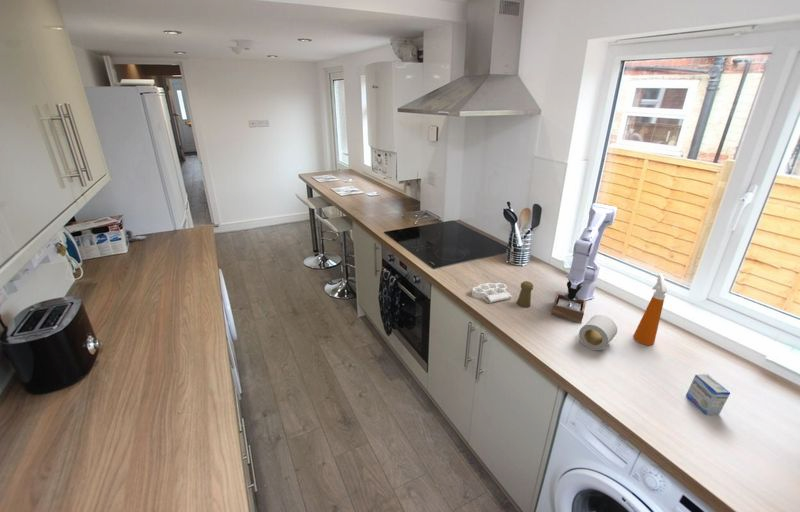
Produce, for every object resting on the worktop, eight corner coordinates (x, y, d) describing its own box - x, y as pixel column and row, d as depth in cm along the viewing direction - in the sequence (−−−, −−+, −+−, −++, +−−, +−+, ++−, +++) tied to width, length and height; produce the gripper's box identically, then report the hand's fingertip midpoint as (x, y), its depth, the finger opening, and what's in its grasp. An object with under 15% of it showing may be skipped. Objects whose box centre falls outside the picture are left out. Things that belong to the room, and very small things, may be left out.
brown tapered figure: (531, 308, 161) (535, 286, 157) (517, 306, 162) (521, 285, 158) (529, 301, 167) (533, 280, 163) (515, 300, 168) (519, 278, 164)
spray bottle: (648, 331, 148) (669, 273, 137) (656, 347, 138) (679, 285, 128) (629, 327, 150) (648, 269, 139) (635, 342, 140) (656, 282, 130)
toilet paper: (586, 332, 146) (592, 310, 142) (613, 343, 140) (620, 321, 136) (576, 342, 140) (582, 320, 136) (604, 355, 133) (611, 332, 129)
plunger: (559, 299, 164) (562, 287, 161) (580, 305, 160) (584, 292, 157) (556, 308, 157) (559, 295, 154) (579, 315, 153) (582, 301, 150)
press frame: (554, 302, 167) (557, 293, 165) (583, 310, 161) (586, 300, 160) (550, 314, 157) (553, 304, 155) (581, 323, 152) (583, 313, 150)
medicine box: (685, 395, 116) (694, 373, 112) (698, 395, 116) (708, 373, 112) (706, 415, 108) (717, 392, 105) (720, 414, 109) (731, 392, 105)
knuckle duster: (483, 306, 163) (466, 291, 175) (516, 299, 169) (497, 285, 182) (484, 299, 162) (466, 285, 174) (517, 293, 168) (497, 279, 181)
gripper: (570, 259, 158) (563, 287, 164) (565, 272, 147) (559, 301, 152) (587, 263, 155) (580, 291, 161) (585, 276, 144) (577, 306, 149)
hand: (571, 296), depth 156 cm, fingers closed on plunger, 3 cm apart
